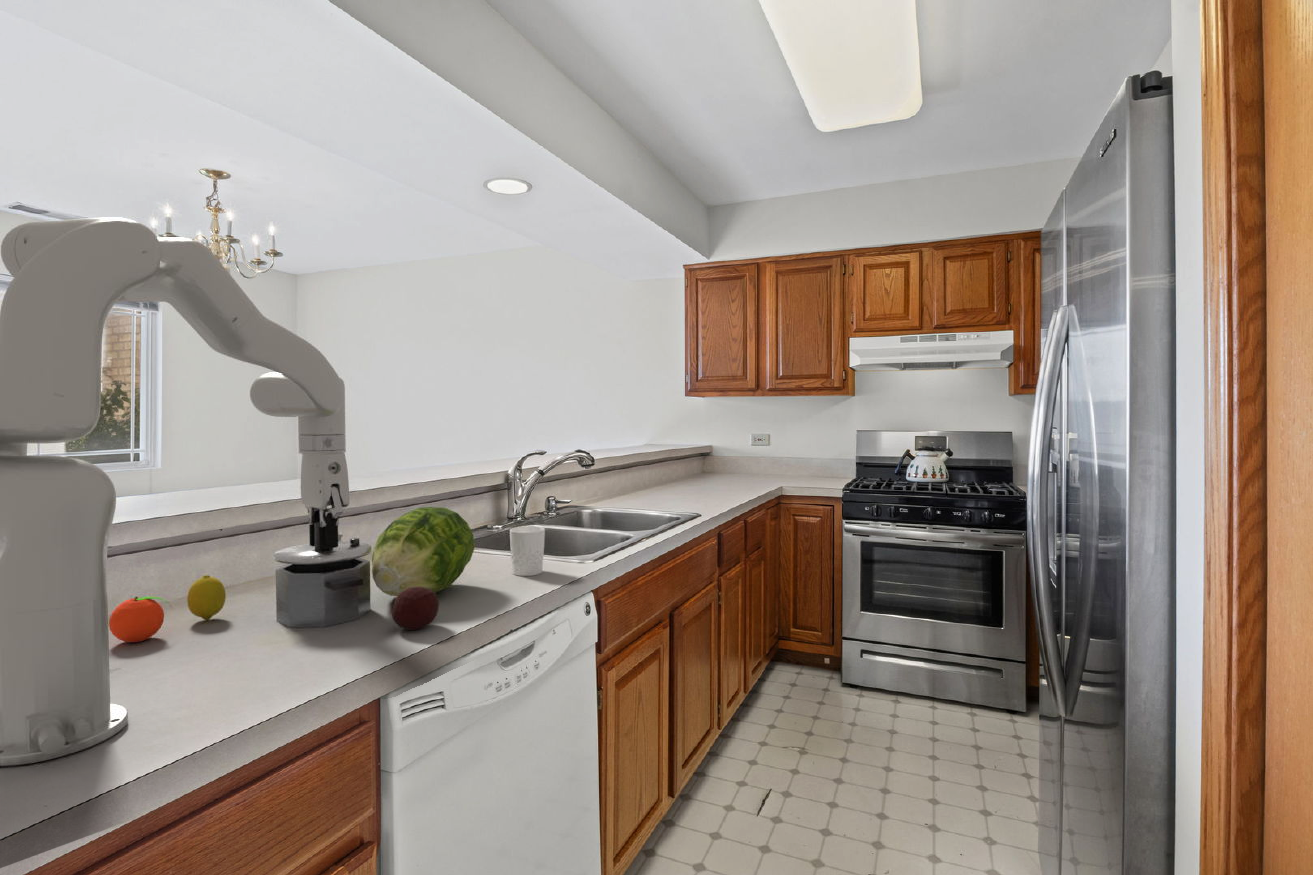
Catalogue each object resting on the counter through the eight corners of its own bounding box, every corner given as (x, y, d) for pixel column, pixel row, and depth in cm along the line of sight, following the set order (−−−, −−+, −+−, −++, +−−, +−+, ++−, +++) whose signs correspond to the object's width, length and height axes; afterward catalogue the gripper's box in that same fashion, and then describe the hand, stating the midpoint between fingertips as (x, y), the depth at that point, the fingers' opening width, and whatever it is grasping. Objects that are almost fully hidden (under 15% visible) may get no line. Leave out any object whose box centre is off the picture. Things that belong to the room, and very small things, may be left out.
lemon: (206, 626, 112) (205, 579, 112) (179, 624, 113) (178, 577, 113) (233, 616, 118) (232, 572, 117) (207, 614, 119) (206, 570, 119)
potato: (447, 624, 114) (447, 583, 114) (417, 638, 107) (416, 595, 107) (413, 619, 117) (412, 579, 117) (381, 633, 110) (380, 591, 109)
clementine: (170, 629, 111) (169, 587, 110) (175, 640, 106) (174, 596, 105) (108, 640, 105) (106, 596, 105) (110, 652, 100) (109, 605, 100)
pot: (388, 616, 118) (387, 566, 118) (305, 636, 107) (304, 581, 107) (340, 596, 131) (340, 551, 130) (262, 612, 120) (261, 563, 120)
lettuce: (339, 609, 123) (346, 524, 120) (406, 562, 146) (413, 489, 142) (426, 632, 121) (435, 546, 117) (480, 580, 144) (489, 507, 140)
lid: (386, 553, 119) (386, 522, 119) (294, 568, 108) (294, 533, 107) (348, 542, 130) (348, 512, 129) (260, 554, 118) (260, 522, 118)
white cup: (552, 571, 152) (551, 528, 152) (528, 578, 146) (528, 533, 145) (526, 567, 156) (526, 525, 156) (502, 573, 150) (502, 530, 149)
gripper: (364, 445, 115) (365, 549, 116) (324, 442, 126) (326, 537, 127) (319, 447, 110) (321, 556, 110) (282, 443, 120) (283, 543, 121)
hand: (323, 545), depth 119 cm, fingers closed on lid, 3 cm apart
